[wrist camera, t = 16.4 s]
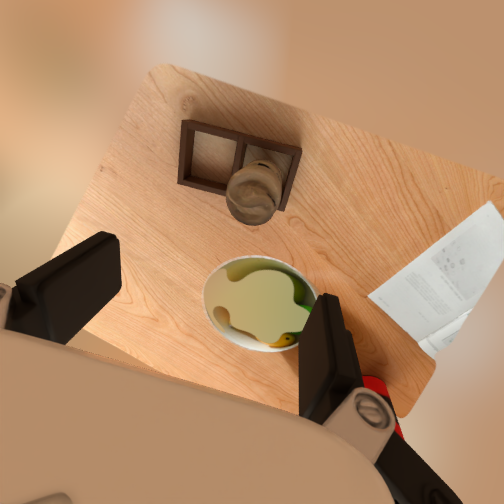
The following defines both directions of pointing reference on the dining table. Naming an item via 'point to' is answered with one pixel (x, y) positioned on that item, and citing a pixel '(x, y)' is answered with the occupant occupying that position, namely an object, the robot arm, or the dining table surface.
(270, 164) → the light bulb
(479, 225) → the dining table surface
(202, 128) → the socket block
